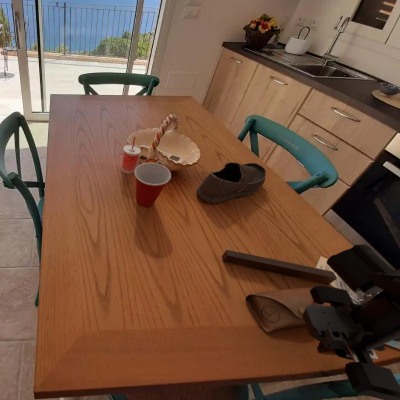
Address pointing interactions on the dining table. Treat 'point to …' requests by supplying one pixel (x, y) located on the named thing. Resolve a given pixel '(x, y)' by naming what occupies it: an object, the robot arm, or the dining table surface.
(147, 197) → the plastic cup
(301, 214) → the dining table surface
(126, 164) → the beverage cup
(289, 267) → the rail
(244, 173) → the loafer
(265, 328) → the sunglasses case
